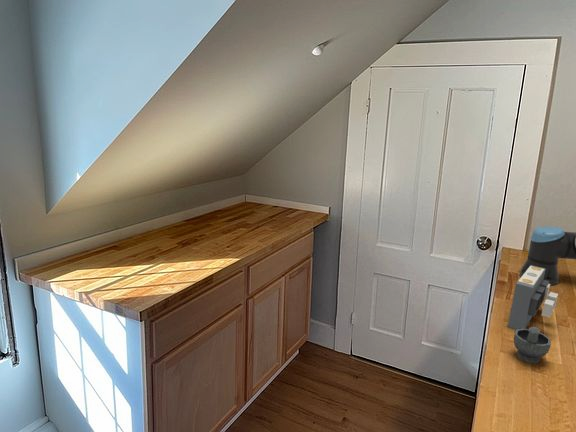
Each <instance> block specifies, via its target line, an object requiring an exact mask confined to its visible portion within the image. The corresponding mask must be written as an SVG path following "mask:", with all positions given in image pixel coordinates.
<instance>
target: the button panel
mask: <svg viewBox="0 0 576 432" xmlns="http://www.w3.org/2000/svg"><path fill="white" fill-rule="evenodd" d="M545 270H546V269H545V268H541V267H536V266H532V265H530V267H529V268H528V269H527V270H526V272H525V273H524V274H523V275H522V277H521V276H520V278H519V279H518V280H517V282H516V283H515V287H514V292H513V296H512V297H513V298H512V303H511V308H510V313H509V317H508V322H507V328H509V329H513V330H518V329H527V327H528V325H529V324H530V322H531V320H532V318H533V317H536V315H537V313H538V310H539V309H540V308H541V306H542V304H543V302H545V299H544V296H545V291H546V287H547V285H548V284H549V281H547V280H543V279H544V275H545Z"/></svg>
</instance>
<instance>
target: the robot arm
mask: <svg viewBox="0 0 576 432" xmlns="http://www.w3.org/2000/svg"><path fill="white" fill-rule="evenodd" d="M559 259H567V260H576V232H574V231H565V230H564V229H563V228H561V227H558V226H549V225H548V226H539V227H536V228H534V229H533V231H532V234H531V237H530V241H529V247H528V253H527V257H526V260H525V262H524V263H523V264H522V267H521V268H520V270H519V274H520V275H519V276H520V278H521V277H522V275H523V274H524V273H525V272H526V270H527V269H528V268H529V267H530V265H532V266H536V267H541V268H545V269H546V270H545V275H544V279H543V280H547V281H549V284H550V286H557V285H558V284H559V280H560V276H559V275H560V274H559V270H558V263H559Z"/></svg>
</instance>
